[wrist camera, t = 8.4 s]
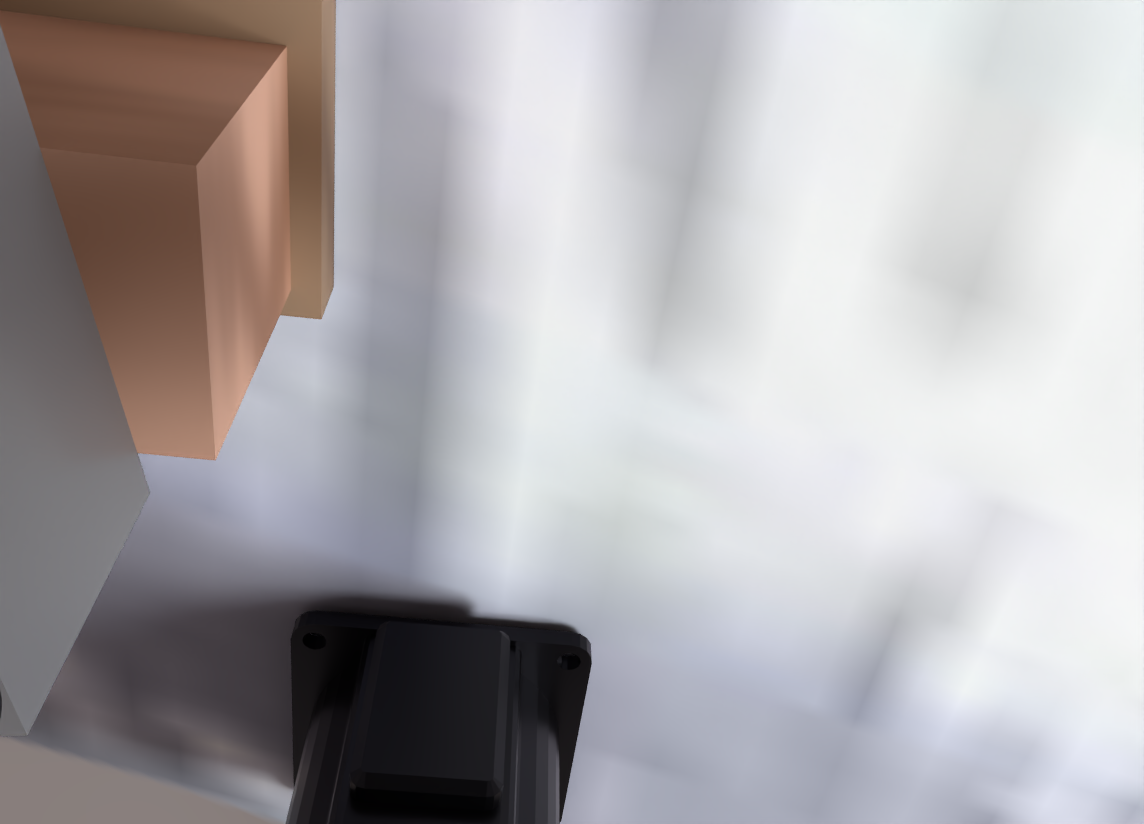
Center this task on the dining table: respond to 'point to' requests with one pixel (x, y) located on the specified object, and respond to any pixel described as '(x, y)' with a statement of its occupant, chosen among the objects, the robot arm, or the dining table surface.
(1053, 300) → the dining table surface
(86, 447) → the grey long bar
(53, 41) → the display stand
